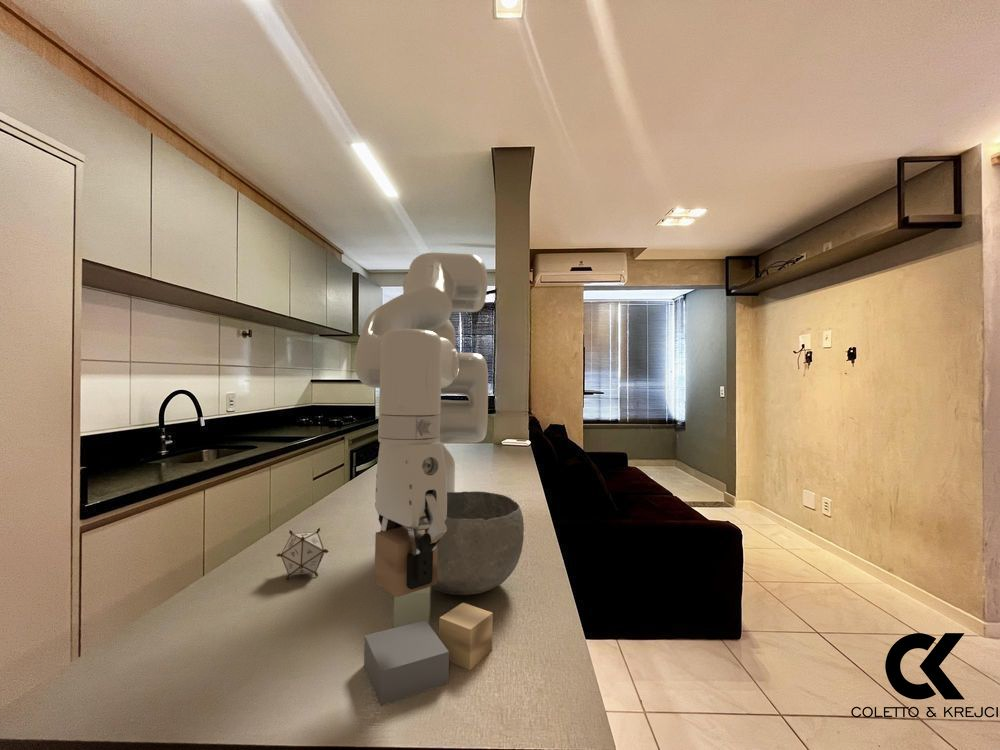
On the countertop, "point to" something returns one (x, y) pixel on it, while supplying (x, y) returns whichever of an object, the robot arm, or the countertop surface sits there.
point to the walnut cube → (396, 561)
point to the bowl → (478, 542)
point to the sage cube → (412, 607)
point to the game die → (302, 553)
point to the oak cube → (466, 634)
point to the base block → (405, 661)
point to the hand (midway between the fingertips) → (406, 575)
